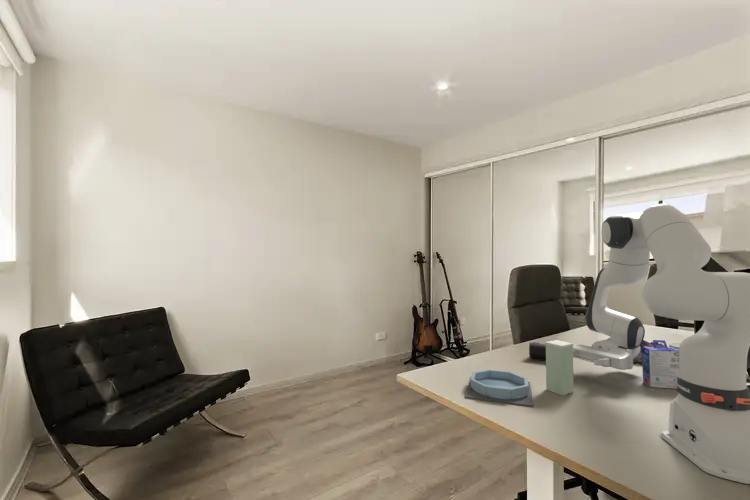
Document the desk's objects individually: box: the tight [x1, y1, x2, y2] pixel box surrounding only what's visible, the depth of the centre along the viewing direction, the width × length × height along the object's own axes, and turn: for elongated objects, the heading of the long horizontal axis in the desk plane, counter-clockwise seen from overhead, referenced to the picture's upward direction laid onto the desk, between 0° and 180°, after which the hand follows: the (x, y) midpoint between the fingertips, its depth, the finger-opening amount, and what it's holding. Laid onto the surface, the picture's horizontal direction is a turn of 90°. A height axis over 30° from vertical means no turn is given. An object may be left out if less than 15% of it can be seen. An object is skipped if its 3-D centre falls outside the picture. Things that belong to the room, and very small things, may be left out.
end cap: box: [528, 341, 546, 362], centre depth 145 cm, size 10×7×7 cm
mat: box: [464, 378, 535, 408], centre depth 114 cm, size 20×19×1 cm
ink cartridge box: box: [641, 339, 679, 390], centre depth 117 cm, size 10×6×14 cm, turn 78°
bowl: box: [470, 369, 529, 400], centre depth 114 cm, size 17×17×3 cm
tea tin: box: [544, 339, 574, 396], centre depth 113 cm, size 6×6×15 cm
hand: (581, 358), depth 119 cm, fingers open, 8 cm apart
